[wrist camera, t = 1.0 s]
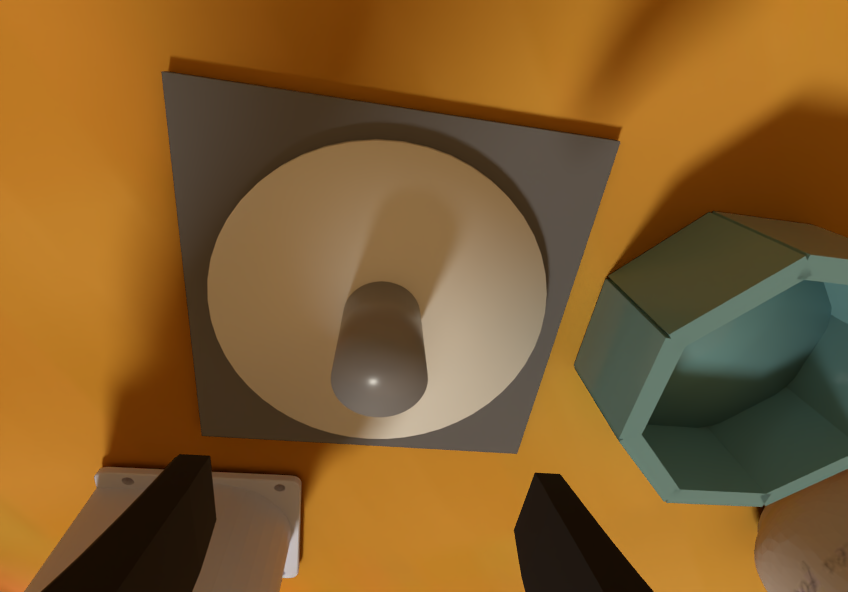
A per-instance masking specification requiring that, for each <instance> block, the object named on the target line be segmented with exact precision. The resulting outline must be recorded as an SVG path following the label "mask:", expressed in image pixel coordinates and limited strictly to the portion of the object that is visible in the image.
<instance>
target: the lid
mask: <svg viewBox="0 0 848 592" xmlns="http://www.w3.org/2000/svg"><path fill="white" fill-rule="evenodd" d="M207 286H208V305H209V311H210V318H211V322H212V325H213V328H214V331H215V334H216V337H217V340H218V342H219V344H220V346H221V348H222V350H223V352H224V354H225V356H226V358H227V359H228V361H229V362H230V364H231V365H232V367H233V368H234V370H235V371H236V373H237V374H238V375H239V376H240V377H241V378H242V379H243V381H244V382H245V383H246V384H247V385H248V386H249V387H250V388H251V389H252V390H253V391H254V392H255V393H256V394H257V395H259V396H260V397H261V398H262V399H263V400H264V401H266V402H267V403H269V404H270V405H271V406H273V407H274V408H276V409H277V410H278V411H280V412H282V413H284V414H285V415H287V416H289V417H291V418H293V419H294V420H297V421H299V422H301V423H304V424H306V425H308V426H311V427H313V428H316V429H319V430H323V431H326V432H329V433H333V434H338V435H343V436H348V437H356V438H365V439H391V438H403V437H409V436H415V435H420V434H424V433H428V432H431V431H435V430H438V429H441V428H444V427H446V426H449V425H451V424H454V423H456V422H458V421H460V420H462V419H464V418H466V417H468V416H470V415H472V414H474V413H475V412H477V411H478V410H480V409H481V408H483V407H484V406H486V405H487V404H488V403H490V402H491V401H492V400H493V399H494V398H496V397H497V396H498V395H499V394H500V393H501V392H503V391H504V389H505V388H506V387H507V386H508V385H509V384H510V383H511V382H512V381H513V380H514V379H515V377H516V376H517V375H518V373H519V372H520V371H521V369H522V368H523V367H524V365H525V364H526V362H527V360H528V358H529V356H530V355H531V353H532V351H533V349H534V347H535V345H536V342H537V339H538V337H539V334H540V332H541V328H542V324H543V319H544V315H545V308H546V297H547V289H546V274H545V269H544V264H543V260H542V255H541V252H540V250H539V247H538V244H537V242H536V239H535V236H534V234H533V232H532V231H531V229H530V227H529V225H528V223H527V222H526V220H525V218H524V216H523V215H522V214H521V213H520V211H519V210H518V209H517V207H516V206H515V205H514V203H513V202H512V201H511V200H510V198H509V197H508V196H507V195H506V194H505V193H504V192H503V191H502V190H501V189H500V188H499V187H498V186H497V185H496V184H494V183H493V182H492V181H491V180H490V179H489V178H488V177H486V176H485V175H483V174H482V173H481V172H479V171H478V170H477V169H475V168H474V167H472V166H471V165H469V164H467V163H465V162H463V161H461V160H460V159H458V158H456V157H454V156H452V155H450V154H447V153H445V152H442V151H439V150H436V149H434V148H431V147H428V146H424V145H419V144H415V143H410V142H405V141H398V140H385V139H367V140H351V141H346V142H341V143H336V144H332V145H327V146H324V147H321V148H318V149H315V150H312V151H310V152H307V153H304V154H302V155H300V156H298V157H296V158H294V159H292V160H290V161H288V162H287V163H285V164H283V165H281V166H280V167H278V168H277V169H276V170H274V171H273V172H271V173H270V174H269V175H267V176H266V177H265V178H263V179H262V180H261V181H260V182H258V183H257V184H256V185H255V186H254V187H253V188H252V189H251V190H250V191H249V192H248V193H247V194H246V195H245V196H244V197H243V198H242V199H241V200H240V202H239V203H238V205H237V206H236V207H235V209H234V210H233V211H232V213H231V214H230V215H229V217H228V218H227V220H226V222H225V224H224V226H223V228H222V230H221V232H220V234H219V236H218V238H217V240H216V243H215V247H214V250H213V253H212V256H211V259H210V266H209V273H208V279H207Z"/></svg>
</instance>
